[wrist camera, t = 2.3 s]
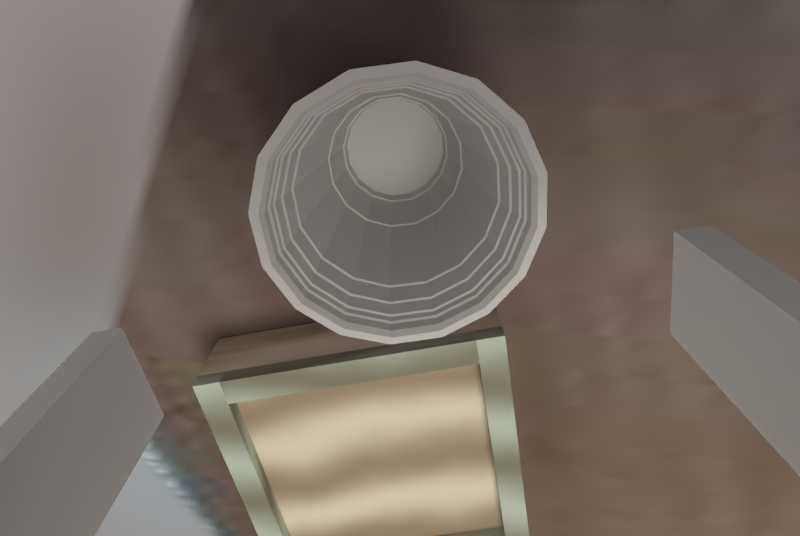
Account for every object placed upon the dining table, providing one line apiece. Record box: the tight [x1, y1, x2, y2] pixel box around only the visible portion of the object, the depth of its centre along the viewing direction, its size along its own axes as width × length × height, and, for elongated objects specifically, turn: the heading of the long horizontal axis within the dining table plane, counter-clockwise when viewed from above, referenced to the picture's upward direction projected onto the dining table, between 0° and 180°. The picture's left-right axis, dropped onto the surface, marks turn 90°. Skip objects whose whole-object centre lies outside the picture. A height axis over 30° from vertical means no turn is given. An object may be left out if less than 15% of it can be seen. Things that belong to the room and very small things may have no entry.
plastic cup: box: [248, 61, 547, 344], centre depth 24 cm, size 11×11×12 cm
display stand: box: [192, 308, 529, 536], centre depth 35 cm, size 18×18×5 cm
